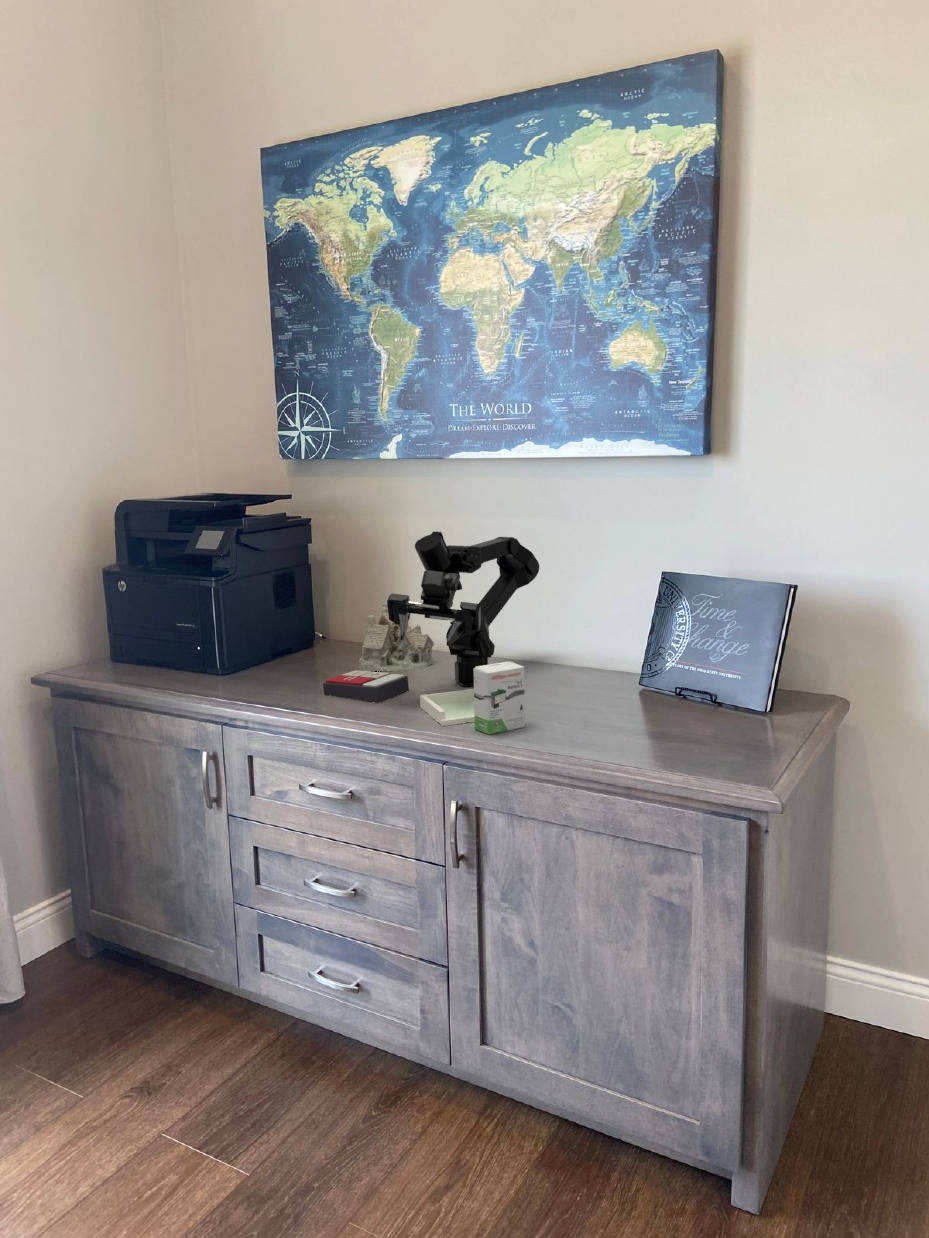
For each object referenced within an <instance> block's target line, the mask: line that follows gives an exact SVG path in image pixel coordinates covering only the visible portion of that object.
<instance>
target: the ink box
mask: <svg viewBox="0 0 929 1238" xmlns="http://www.w3.org/2000/svg"><path fill="white" fill-rule="evenodd" d="M473 670H474V685H473V689H474V715H475V722H474V730H477V731H479V732H482V733H484V734H486V735H494V734H499V733H505V732H508V731H512V730H516V729H521V728H525V727H526V700H525V698H526V697H525V695H526V692H525V687H526V686H525V666H524V665H520V664H518V663H515V662H513V661H504V662H497V663H491V664H488V665H483V666H477V667H476V668H474V669H473Z"/></svg>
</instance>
